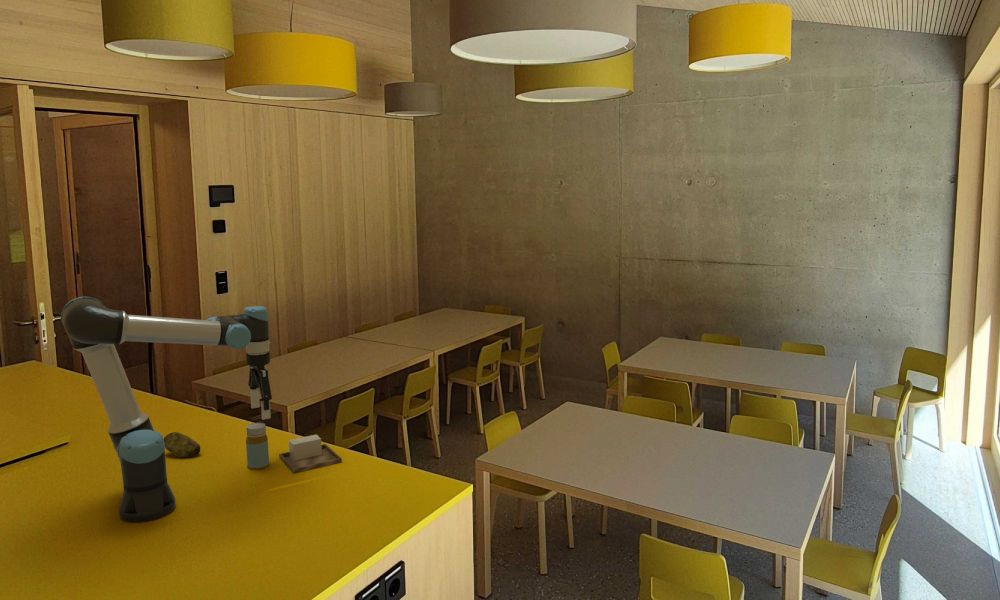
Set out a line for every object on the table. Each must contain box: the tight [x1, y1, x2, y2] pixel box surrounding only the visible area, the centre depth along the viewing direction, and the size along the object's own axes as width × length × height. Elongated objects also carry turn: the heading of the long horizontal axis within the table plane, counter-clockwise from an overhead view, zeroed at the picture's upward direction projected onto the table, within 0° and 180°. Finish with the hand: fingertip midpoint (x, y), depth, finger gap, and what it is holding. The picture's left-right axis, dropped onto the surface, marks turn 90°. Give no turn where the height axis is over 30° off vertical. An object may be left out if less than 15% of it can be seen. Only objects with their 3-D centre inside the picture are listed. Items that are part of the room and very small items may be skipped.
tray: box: [278, 443, 343, 475], centre depth 242 cm, size 17×16×2 cm
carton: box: [288, 434, 322, 461], centre depth 246 cm, size 10×5×6 cm, turn 124°
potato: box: [163, 431, 201, 458], centre depth 247 cm, size 8×13×8 cm, turn 60°
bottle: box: [245, 422, 270, 471], centre depth 236 cm, size 7×7×15 cm
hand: (260, 413), depth 235 cm, fingers open, 13 cm apart
